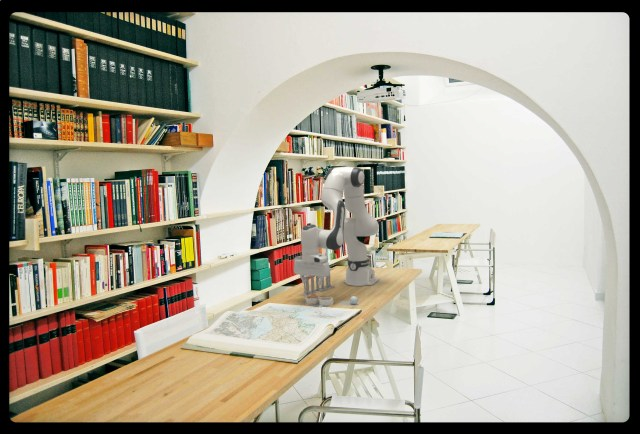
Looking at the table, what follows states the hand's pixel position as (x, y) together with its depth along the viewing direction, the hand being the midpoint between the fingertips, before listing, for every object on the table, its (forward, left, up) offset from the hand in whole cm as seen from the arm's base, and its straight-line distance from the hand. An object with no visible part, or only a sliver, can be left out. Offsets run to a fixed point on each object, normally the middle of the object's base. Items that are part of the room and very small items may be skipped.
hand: (312, 283), depth 244 cm
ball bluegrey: (-4, +21, -9) cm, 24 cm away
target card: (+2, +4, -10) cm, 11 cm away
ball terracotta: (+1, 0, -9) cm, 9 cm away
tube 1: (+1, 0, -9) cm, 9 cm away
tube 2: (+1, +8, -9) cm, 12 cm away
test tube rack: (-21, -10, -10) cm, 25 cm away
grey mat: (-4, +18, -10) cm, 21 cm away
